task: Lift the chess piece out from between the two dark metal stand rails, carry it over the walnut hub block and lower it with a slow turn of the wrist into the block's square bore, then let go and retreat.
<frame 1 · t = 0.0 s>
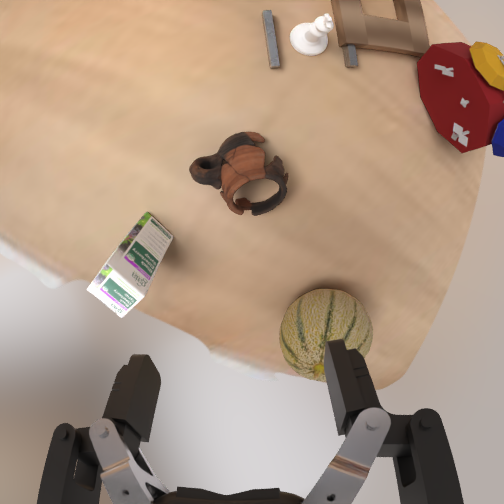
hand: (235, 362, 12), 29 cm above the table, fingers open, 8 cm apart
syrup box: (150, 235, 41), on the table
cantaloupe: (317, 304, 48), on the table
alarm clock: (428, 94, 30), on the table
stand rails: (308, 39, 28), on the table
chess piece: (308, 39, 28), on the table
hub block: (373, 2, 24), on the table
pottery mug: (240, 166, 37), on the table
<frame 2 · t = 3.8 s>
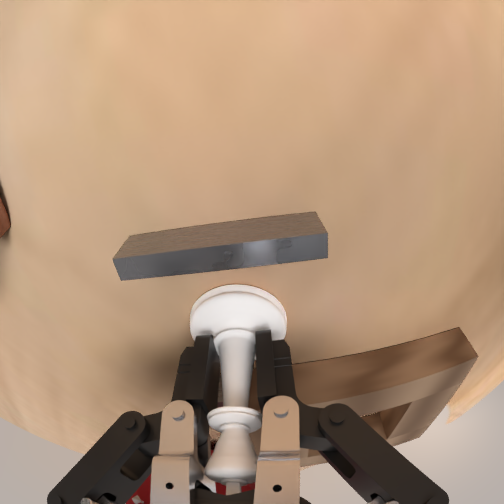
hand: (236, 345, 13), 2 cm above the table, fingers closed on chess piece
alarm clock: (199, 446, 23), on the table
stand rails: (237, 322, 14), on the table
chess piece: (238, 320, 14), on the table, touching gripper
hub block: (348, 403, 19), on the table
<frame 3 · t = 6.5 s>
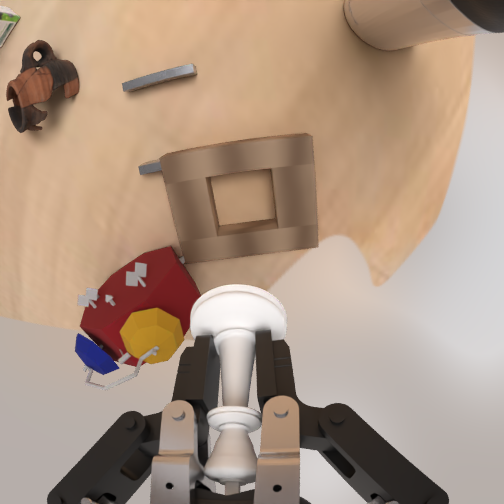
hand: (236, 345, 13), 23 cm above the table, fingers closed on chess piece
syrup box: (5, 26, 17), on the table
alarm clock: (151, 262, 37), on the table
stand rails: (168, 118, 28), on the table
chess piece: (238, 319, 14), point 21 cm above the table, touching gripper
hub block: (243, 195, 33), on the table
pottery mug: (52, 84, 24), on the table
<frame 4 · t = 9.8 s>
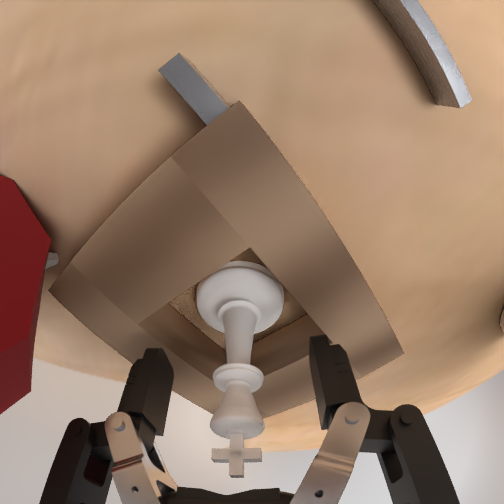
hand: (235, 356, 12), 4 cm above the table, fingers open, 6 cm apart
alarm clock: (10, 203, 13), on the table
stand rails: (328, 72, 10), on the table
chess piece: (240, 295, 16), on the table
hub block: (237, 299, 16), on the table
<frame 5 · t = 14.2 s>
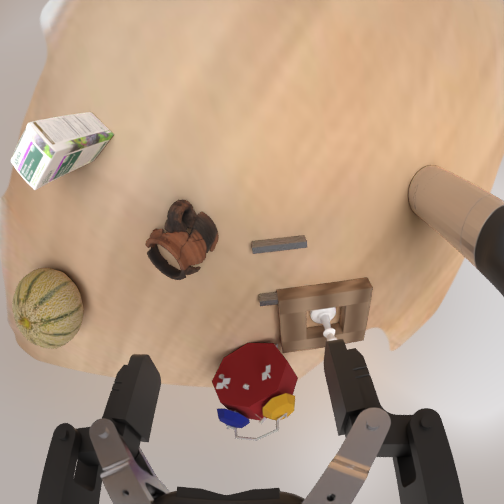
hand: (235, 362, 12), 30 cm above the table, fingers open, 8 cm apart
syrup box: (92, 136, 34), on the table
cantaloupe: (65, 285, 47), on the table
alarm clock: (251, 347, 54), on the table
stand rails: (281, 269, 45), on the table
chess piece: (322, 310, 50), on the table
hub block: (322, 312, 50), on the table
pottery mug: (186, 228, 42), on the table
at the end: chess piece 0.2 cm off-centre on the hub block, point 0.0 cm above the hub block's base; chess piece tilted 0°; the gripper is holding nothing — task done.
